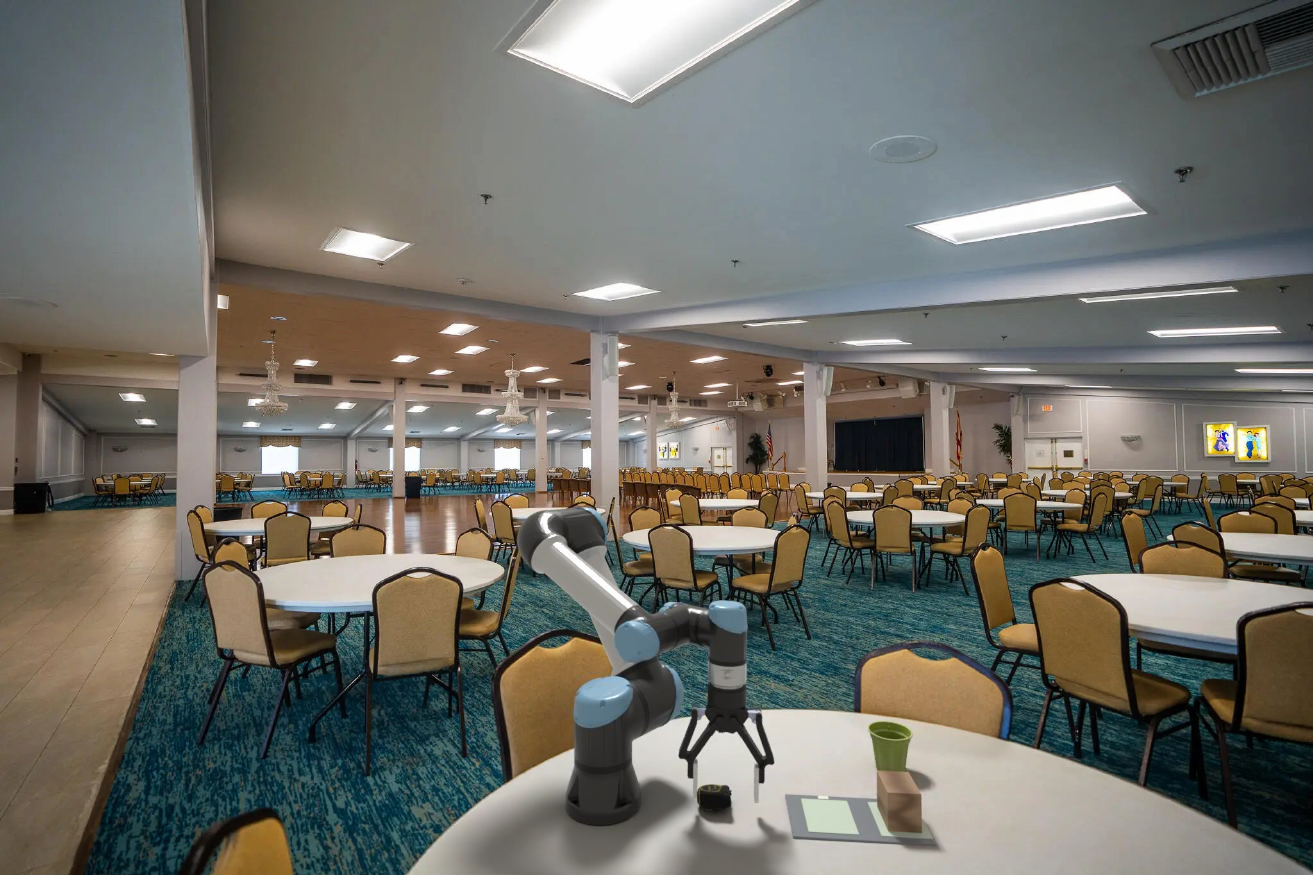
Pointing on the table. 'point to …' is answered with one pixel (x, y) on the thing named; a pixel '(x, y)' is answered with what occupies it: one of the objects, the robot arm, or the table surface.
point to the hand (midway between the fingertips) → (725, 796)
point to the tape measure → (714, 797)
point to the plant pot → (890, 745)
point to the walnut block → (899, 801)
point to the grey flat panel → (845, 821)
